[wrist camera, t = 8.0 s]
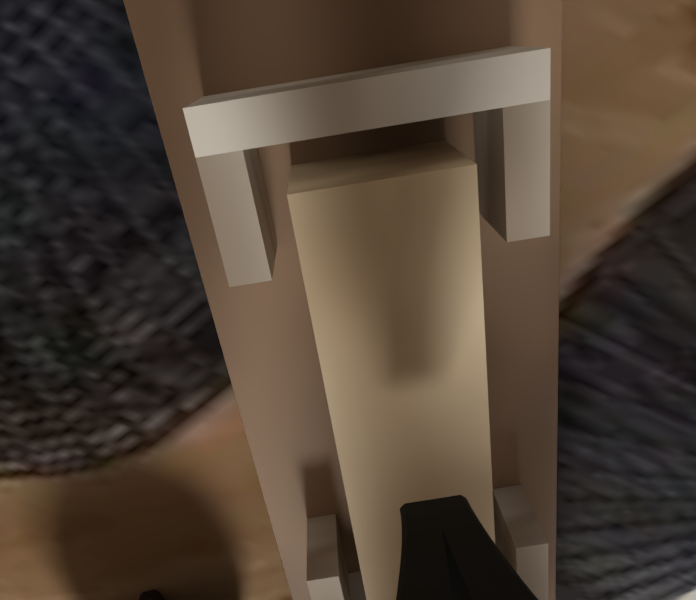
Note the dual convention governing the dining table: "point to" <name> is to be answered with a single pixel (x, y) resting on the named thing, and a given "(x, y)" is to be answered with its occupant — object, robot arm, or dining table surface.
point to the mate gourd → (151, 595)
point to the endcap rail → (346, 140)
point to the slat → (398, 335)
